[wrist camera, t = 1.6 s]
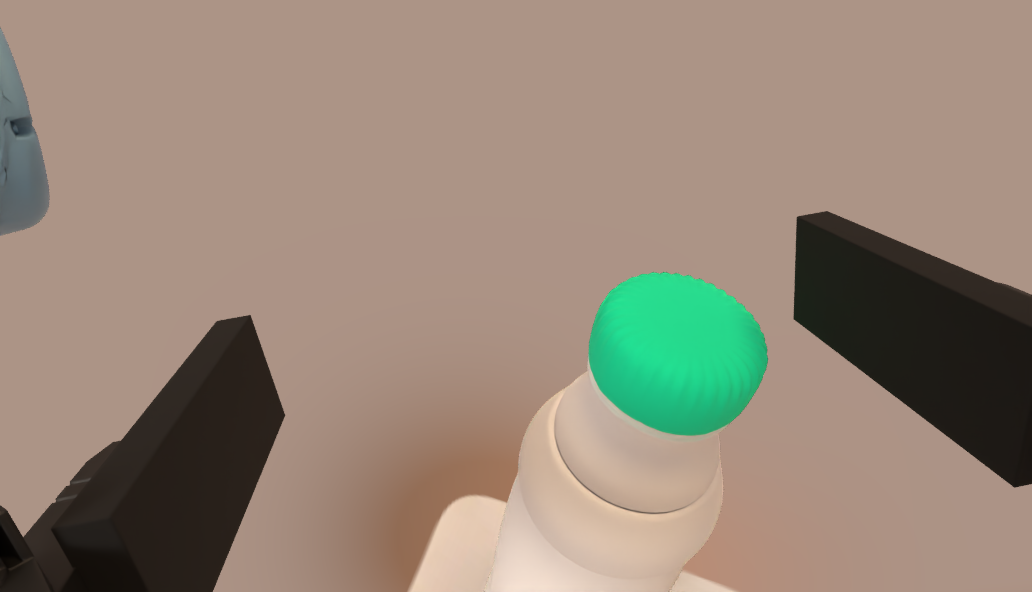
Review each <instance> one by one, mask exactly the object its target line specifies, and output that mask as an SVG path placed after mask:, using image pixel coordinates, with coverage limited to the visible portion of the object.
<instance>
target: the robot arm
mask: <svg viewBox="0 0 1032 592" xmlns="http://www.w3.org/2000/svg"><path fill="white" fill-rule="evenodd" d="M48 207H49V186H48V180H47V174H46V170H45V165H44V160H43V156H42V151H41V148H40V144H39V140H38V137H37V134H36V132H35V129H34V127H33V126H32V117H31V114H30V111H29V105H28V101H27V97H26V94H25V91H24V88H23V84H22V82H21V79H20V76H19V72H18V70H17V67H16V64H15V61H14V58H13V56H12V53H11V51H10V48H9V45H8V43H7V41H6V39H5V36H4V34H3V32H2V30H1V28H0V235H5V234H8V233H12V232H16V231H20V230H24V229H27V228H30V227H32V226H34V225H35V224H37V223H38V222H40V220H41V219H42V218H43V217H44V216H45V214H46V212H47V210H48ZM794 320H796V321H797V322H798V323H800V324H801V325H802V326H803V327H805V328H806V329H807V330H809V331H810V332H811V333H813V334H814V335H815V336H817V337H818V338H819V339H820V340H822V341H823V342H824V343H826V344H827V345H828V346H830V347H831V348H832V349H834V350H835V351H836V352H838V353H839V354H840V355H841V356H843V357H844V358H845V359H847V360H848V361H850V362H851V363H852V364H853V365H855V366H856V367H857V368H858V369H860V370H861V371H863V372H864V373H865V374H866V375H868V376H869V377H870V378H872V379H873V380H874V381H876V382H877V383H878V384H880V385H881V386H882V387H883V388H885V389H886V390H887V391H889V392H890V393H891V394H893V395H894V396H895V397H897V398H898V399H899V400H901V401H902V402H903V403H904V404H906V405H907V406H908V407H910V408H911V409H912V410H914V411H915V412H916V413H917V414H919V415H920V416H921V417H923V418H924V419H926V420H927V421H928V422H929V423H931V424H932V425H933V426H934V427H936V428H937V429H939V430H940V431H941V432H942V433H944V434H945V435H946V436H948V437H949V438H950V439H952V440H953V441H954V442H956V443H957V444H958V445H959V446H961V447H962V448H963V449H965V450H966V451H967V452H969V453H970V454H971V455H973V456H974V457H975V458H977V459H978V460H979V461H980V462H982V463H983V464H985V465H986V466H987V467H988V468H990V469H991V470H992V471H993V472H995V473H996V474H997V475H999V476H1000V477H1001V478H1003V479H1004V480H1005V481H1007V482H1008V483H1009V484H1011V485H1012V486H1013V487H1019V486H1024V485H1029V484H1032V295H1030V294H1028V293H1026V292H1024V291H1021V290H1019V289H1016V288H1014V287H1011V286H1009V285H1006V284H1002V283H997V282H994V281H992V280H989V279H987V278H984V277H982V276H980V275H977V274H975V273H972V272H970V271H968V270H965V269H963V268H961V267H958V266H956V265H954V264H951V263H949V262H946V261H944V260H942V259H939V258H937V257H934V256H932V255H930V254H927V253H925V252H923V251H920V250H918V249H916V248H913V247H911V246H908V245H906V244H904V243H901V242H899V241H896V240H894V239H892V238H889V237H887V236H884V235H882V234H880V233H878V232H875V231H873V230H870V229H868V228H866V227H863V226H861V225H858V224H856V223H854V222H852V221H849V220H847V219H844V218H842V217H840V216H837V215H835V214H832V213H830V212H828V211H826V212H820V213H814V214H809V215H804V216H798V217H797V229H796V261H795V293H794ZM284 417H285V414H284V411H283V408H282V405H281V402H280V399H279V396H278V394H277V390H276V388H275V385H274V382H273V379H272V376H271V373H270V370H269V367H268V365H267V362H266V359H265V356H264V353H263V350H262V347H261V344H260V341H259V339H258V336H257V333H256V330H255V327H254V324H253V321H252V318H251V315H248V316H243V317H237V318H231V319H226V320H221V321H217V322H216V323H215V324H214V326H213V327H212V328H211V329H210V330H209V332H208V333H207V334H206V335H205V337H204V338H203V339H202V340H201V342H200V343H199V344H198V345H197V347H196V348H195V349H194V350H193V352H192V353H191V354H190V355H189V357H188V358H187V359H186V360H185V362H184V363H183V364H182V365H181V367H180V368H179V369H178V370H177V372H176V373H175V374H174V375H173V377H172V378H171V379H170V380H169V382H168V383H167V384H166V385H165V387H164V388H163V389H162V390H161V392H160V393H159V394H158V395H157V397H156V398H155V399H154V400H153V402H152V403H151V404H150V405H149V407H148V408H147V409H146V410H145V411H144V413H143V414H142V415H141V417H140V418H139V419H138V420H137V421H136V423H135V424H134V425H133V426H132V428H131V429H130V430H129V431H128V433H127V434H126V435H125V437H124V438H123V439H122V440H121V441H117V442H113V443H111V444H110V445H109V446H107V447H106V448H105V449H103V450H102V451H101V452H99V453H98V454H97V455H95V456H94V457H93V458H91V459H90V460H89V461H87V462H86V463H85V465H84V466H83V467H82V468H81V469H80V471H79V472H78V473H77V474H76V475H75V476H74V478H73V479H72V480H71V481H70V486H66V487H65V488H64V490H63V491H62V492H61V493H60V494H59V495H58V497H57V498H56V503H52V504H51V505H50V506H49V508H48V509H47V510H46V511H45V512H44V513H43V514H42V516H41V517H40V518H39V519H38V520H37V522H36V523H35V524H34V525H33V526H32V528H31V529H30V530H29V531H28V532H27V533H26V535H25V536H24V537H22V535H21V533H20V532H19V530H18V528H17V526H16V525H15V523H14V521H13V520H12V518H11V516H10V515H9V513H8V511H7V510H6V509H5V508H3V507H2V506H0V592H213V590H214V587H215V585H216V582H217V580H218V577H219V575H220V572H221V570H222V567H223V565H224V563H225V560H226V558H227V555H228V553H229V551H230V548H231V546H232V543H233V541H234V538H235V536H236V533H237V531H238V529H239V526H240V524H241V521H242V519H243V517H244V514H245V512H246V509H247V507H248V504H249V502H250V500H251V497H252V495H253V492H254V490H255V487H256V484H257V482H258V480H259V477H260V475H261V473H262V470H263V468H264V465H265V463H266V461H267V458H268V456H269V453H270V451H271V448H272V446H273V444H274V441H275V438H276V436H277V434H278V431H279V429H280V426H281V424H282V421H283V419H284Z"/></svg>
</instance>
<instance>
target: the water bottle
mask: <svg viewBox="0 0 1032 592" xmlns="http://www.w3.org/2000/svg"><path fill="white" fill-rule="evenodd" d="M767 363H768V357H767V346H766V344H765V338H764V334H763V333H762V332H761V330H760V326H759V324H758V323H757V322H756V321H755V320H754V318H753V315H752V314H751V313H750V312H748V311H746V309H745V307H744V306H743V305H742V304H740V303H737V301H736V300H735V298H734V297H733V296H729V295H727V294H726V292H725V291H724V290H722V289H717V288H716V287H715V286H714V284H712V283H705V282H704V281H703V280H702V279H693V278H692V277H691V276H689V275H687V276H682V275H680V274H677V273H675V274H672V275H671V274H669V273H667V272H663V273H660V274H659V273H654V272H652V273H650V274H641V275H639V276H637V277H632V278H630V279H628V280H627V281H625V282H623V283H621V284H619V285H618V286H617V287H616V288H614V289H612V290H611V291H610V292H609V294H608V295H607V296H606V298H605V300H604V301H603V302H602V304H601V305H600V308H599V310H598V312H597V314H596V317H595V321H594V324H593V327H592V332H591V337H590V341H589V356H588V364H587V369H588V371H587V372H585V373H584V374H582V375H581V376H579V377H578V378H577V379H576V380H575V381H574V382H573V383H572V384H571V385H569V386H567V387H566V388H564V389H563V390H561V391H560V392H558V393H557V394H555V395H554V396H553V397H552V398H550V399H549V400H548V401H547V402H546V403H545V404H544V405H543V406H542V407H541V408H540V409H539V411H538V412H537V413H536V415H535V416H534V417H533V419H532V420H531V422H530V424H529V426H528V428H527V430H526V432H525V435H524V438H523V441H522V445H521V449H520V453H519V463H518V474H517V476H516V479H515V481H514V484H513V487H512V490H511V493H510V496H509V499H508V502H507V506H506V509H505V512H504V516H503V520H502V524H501V528H500V532H499V536H498V540H497V545H496V550H495V556H494V562H493V568H492V570H491V572H490V575H489V577H488V580H487V583H486V586H485V590H484V592H669V591H670V589H671V588H672V586H673V585H674V583H675V581H676V580H677V578H678V576H679V574H680V573H681V571H682V569H683V567H684V565H685V563H686V562H688V561H689V560H690V559H691V558H692V557H693V556H695V555H696V554H697V552H699V551H700V549H701V548H702V547H703V546H704V545H705V543H706V542H707V540H708V539H709V537H710V536H711V534H712V532H713V530H714V528H715V526H716V524H717V521H718V518H719V515H720V511H721V507H722V501H723V473H722V467H721V461H720V439H719V433H720V432H721V431H723V430H724V429H725V428H726V427H727V426H728V425H729V424H730V422H732V421H733V420H734V419H735V418H736V417H737V416H738V415H739V414H740V413H741V412H742V411H743V410H744V408H745V407H746V406H747V404H748V403H749V401H750V400H751V398H752V397H753V395H754V393H755V392H756V390H757V389H758V387H759V385H760V383H761V381H762V378H763V375H764V373H765V370H766V367H767Z"/></svg>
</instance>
